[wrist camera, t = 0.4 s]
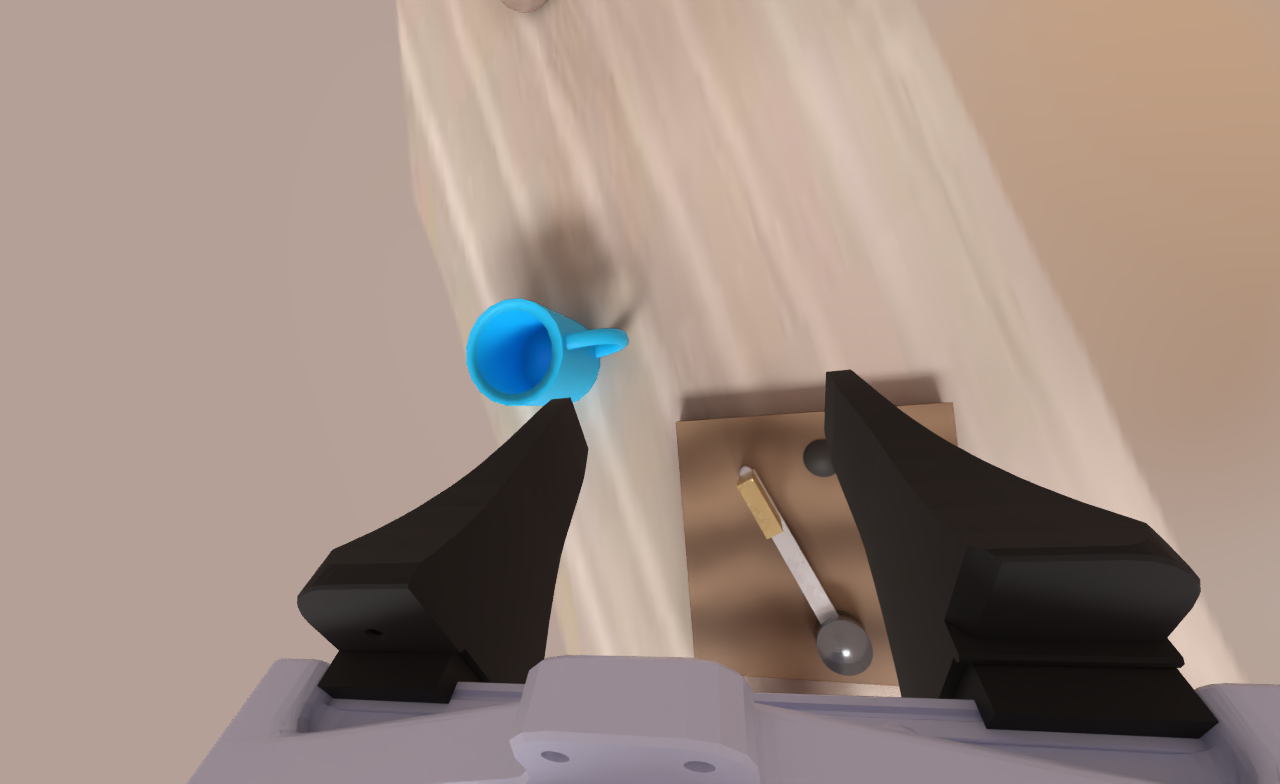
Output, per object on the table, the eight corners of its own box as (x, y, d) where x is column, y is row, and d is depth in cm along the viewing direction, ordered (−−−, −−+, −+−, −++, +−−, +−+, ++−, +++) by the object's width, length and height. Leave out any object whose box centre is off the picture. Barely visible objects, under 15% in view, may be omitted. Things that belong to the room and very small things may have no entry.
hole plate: (971, 675, 34) (985, 692, 32) (698, 659, 38) (695, 673, 36) (941, 402, 35) (953, 402, 32) (679, 421, 39) (675, 422, 37)
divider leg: (876, 649, 33) (895, 688, 29) (830, 667, 34) (841, 709, 29) (763, 455, 36) (764, 462, 31) (722, 476, 36) (717, 487, 32)
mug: (527, 413, 43) (475, 415, 35) (512, 329, 44) (458, 312, 36) (648, 387, 40) (621, 383, 32) (631, 298, 41) (600, 272, 33)
